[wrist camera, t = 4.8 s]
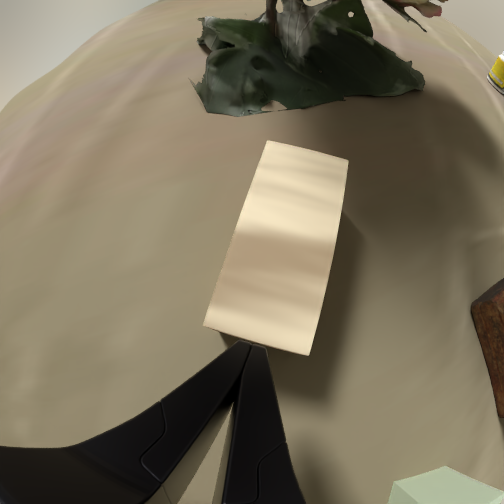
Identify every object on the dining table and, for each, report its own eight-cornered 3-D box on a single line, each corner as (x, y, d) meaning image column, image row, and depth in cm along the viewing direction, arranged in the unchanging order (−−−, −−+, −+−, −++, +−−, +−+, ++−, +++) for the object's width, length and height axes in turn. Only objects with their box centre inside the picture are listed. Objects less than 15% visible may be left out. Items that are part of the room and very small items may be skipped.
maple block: (308, 355, 11) (348, 160, 14) (202, 325, 11) (267, 140, 14) (295, 353, 15) (331, 201, 18) (219, 331, 15) (266, 184, 18)
